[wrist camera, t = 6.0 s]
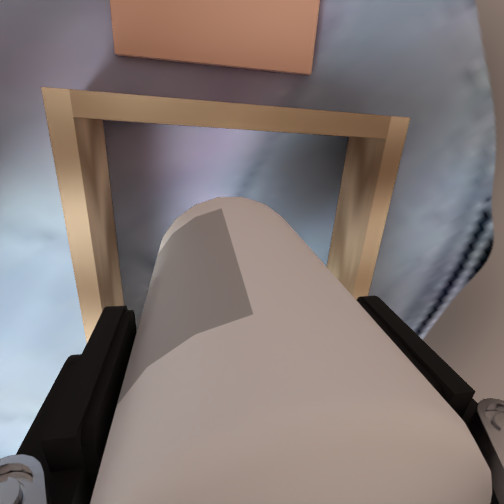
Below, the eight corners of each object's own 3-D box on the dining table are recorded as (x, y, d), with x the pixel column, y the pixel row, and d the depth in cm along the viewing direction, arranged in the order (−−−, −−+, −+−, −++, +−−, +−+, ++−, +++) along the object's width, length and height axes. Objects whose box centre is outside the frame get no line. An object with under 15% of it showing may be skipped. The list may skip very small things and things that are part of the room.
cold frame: (79, 97, 15) (41, 86, 12) (367, 120, 18) (410, 117, 14) (117, 370, 22) (100, 419, 18) (322, 357, 25) (343, 397, 21)
